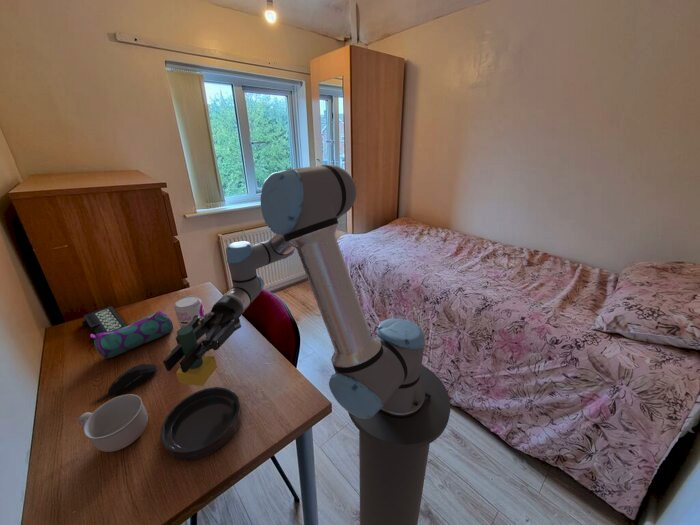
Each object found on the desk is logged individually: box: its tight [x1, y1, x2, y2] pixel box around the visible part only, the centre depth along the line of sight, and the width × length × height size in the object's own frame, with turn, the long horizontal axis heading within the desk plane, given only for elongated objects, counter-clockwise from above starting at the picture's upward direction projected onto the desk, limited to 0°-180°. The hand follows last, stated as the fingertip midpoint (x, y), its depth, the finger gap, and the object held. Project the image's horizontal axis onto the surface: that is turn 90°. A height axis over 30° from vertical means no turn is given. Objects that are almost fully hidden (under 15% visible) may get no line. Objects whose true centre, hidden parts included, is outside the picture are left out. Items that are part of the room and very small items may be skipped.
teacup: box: [77, 393, 149, 453], centre depth 67 cm, size 14×11×8 cm
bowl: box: [159, 386, 243, 462], centre depth 70 cm, size 17×17×4 cm
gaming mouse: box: [96, 363, 158, 402], centre depth 82 cm, size 6×15×4 cm, turn 142°
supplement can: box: [174, 295, 208, 344], centre depth 98 cm, size 8×8×15 cm
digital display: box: [81, 306, 128, 342], centre depth 107 cm, size 21×3×10 cm
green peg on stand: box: [175, 326, 218, 387], centre depth 67 cm, size 6×6×14 cm
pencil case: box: [89, 310, 174, 360], centre depth 96 cm, size 21×9×10 cm, turn 138°
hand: (174, 366), depth 62 cm, fingers closed on green peg on stand, 3 cm apart
